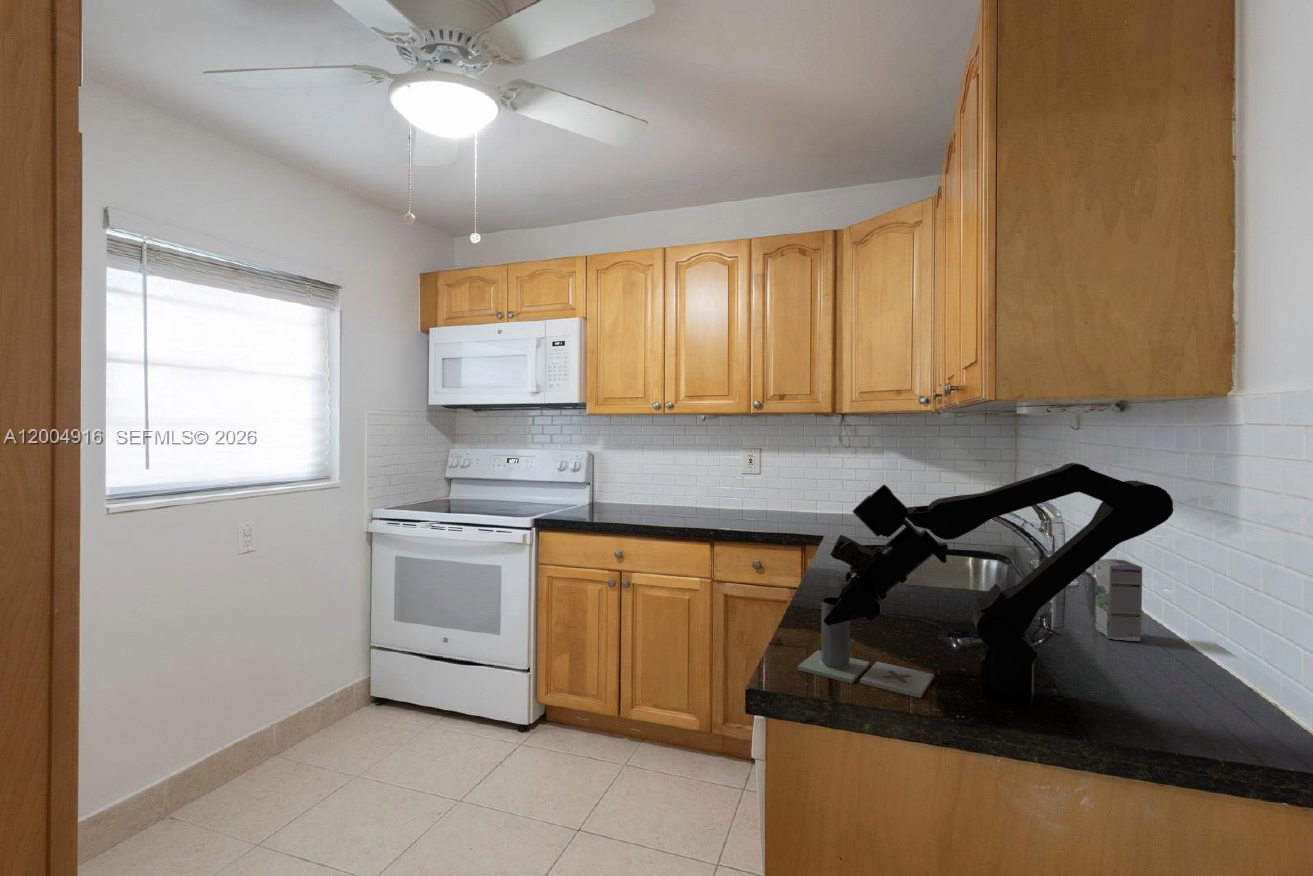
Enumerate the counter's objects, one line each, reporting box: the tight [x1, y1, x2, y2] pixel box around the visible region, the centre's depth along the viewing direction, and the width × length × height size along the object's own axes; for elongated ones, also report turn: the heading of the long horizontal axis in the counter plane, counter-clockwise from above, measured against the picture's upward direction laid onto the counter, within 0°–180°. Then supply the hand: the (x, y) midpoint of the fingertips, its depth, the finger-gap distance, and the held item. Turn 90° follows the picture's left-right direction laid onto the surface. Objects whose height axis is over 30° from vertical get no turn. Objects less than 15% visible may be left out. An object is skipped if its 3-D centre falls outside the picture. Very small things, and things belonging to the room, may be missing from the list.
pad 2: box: [859, 661, 935, 699], centre depth 100 cm, size 9×9×1 cm
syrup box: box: [1094, 558, 1143, 638], centre depth 122 cm, size 6×6×14 cm
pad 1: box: [797, 649, 870, 684], centre depth 105 cm, size 9×9×1 cm
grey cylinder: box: [820, 596, 851, 667], centre depth 105 cm, size 4×4×10 cm
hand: (827, 618), depth 105 cm, fingers closed on grey cylinder, 4 cm apart
